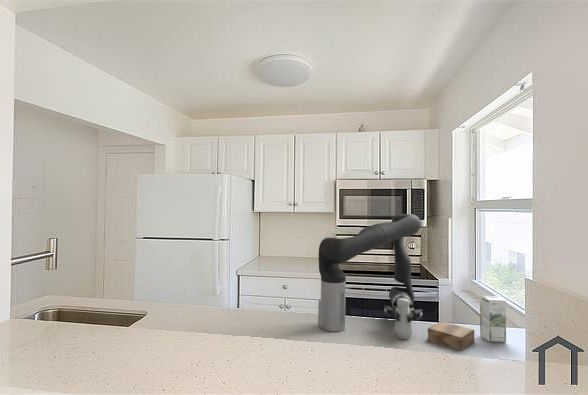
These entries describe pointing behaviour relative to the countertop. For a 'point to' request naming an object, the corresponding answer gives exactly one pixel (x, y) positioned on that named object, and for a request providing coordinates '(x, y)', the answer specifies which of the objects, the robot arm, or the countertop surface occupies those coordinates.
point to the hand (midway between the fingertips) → (403, 318)
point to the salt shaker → (403, 319)
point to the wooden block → (451, 335)
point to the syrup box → (493, 318)
